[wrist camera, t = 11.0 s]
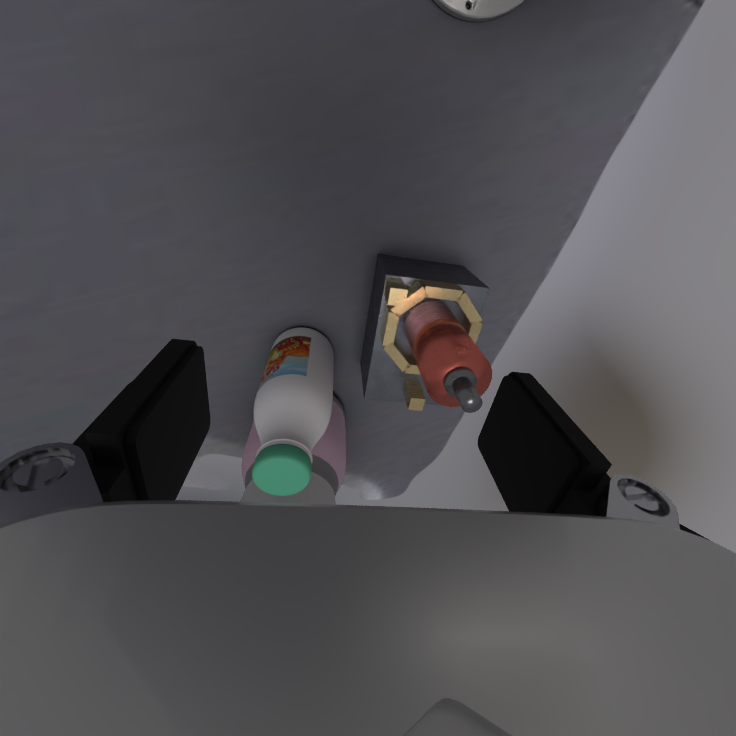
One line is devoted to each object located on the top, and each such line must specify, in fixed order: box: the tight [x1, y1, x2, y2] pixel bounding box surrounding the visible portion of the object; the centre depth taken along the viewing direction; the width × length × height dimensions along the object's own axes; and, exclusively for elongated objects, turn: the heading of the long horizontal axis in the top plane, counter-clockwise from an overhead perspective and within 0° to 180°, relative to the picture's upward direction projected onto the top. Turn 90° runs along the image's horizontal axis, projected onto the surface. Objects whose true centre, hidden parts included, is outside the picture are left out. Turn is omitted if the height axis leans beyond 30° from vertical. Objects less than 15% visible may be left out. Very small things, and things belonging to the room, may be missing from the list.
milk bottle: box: [252, 327, 334, 496], centre depth 36 cm, size 8×8×20 cm
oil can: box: [404, 301, 492, 413], centre depth 29 cm, size 5×5×13 cm
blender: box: [240, 395, 346, 505], centre depth 36 cm, size 16×12×32 cm
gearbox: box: [360, 254, 489, 411], centre depth 38 cm, size 14×11×11 cm
